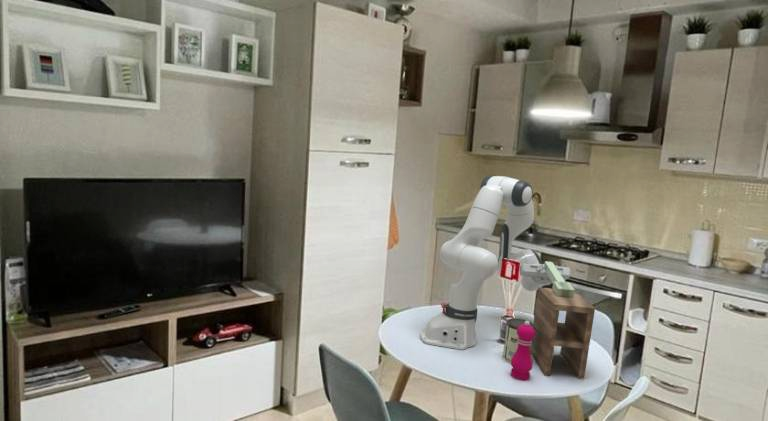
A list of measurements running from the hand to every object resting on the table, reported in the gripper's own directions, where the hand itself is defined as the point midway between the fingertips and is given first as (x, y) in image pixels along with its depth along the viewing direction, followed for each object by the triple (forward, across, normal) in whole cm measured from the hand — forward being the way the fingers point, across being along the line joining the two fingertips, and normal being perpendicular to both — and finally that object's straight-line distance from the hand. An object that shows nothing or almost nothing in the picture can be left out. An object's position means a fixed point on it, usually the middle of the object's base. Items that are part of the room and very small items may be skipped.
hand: (550, 266), depth 206 cm
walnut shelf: (+2, 0, +38) cm, 38 cm away
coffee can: (0, -14, +37) cm, 40 cm away
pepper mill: (+12, -16, +44) cm, 49 cm away
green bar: (+5, 0, +8) cm, 9 cm away
